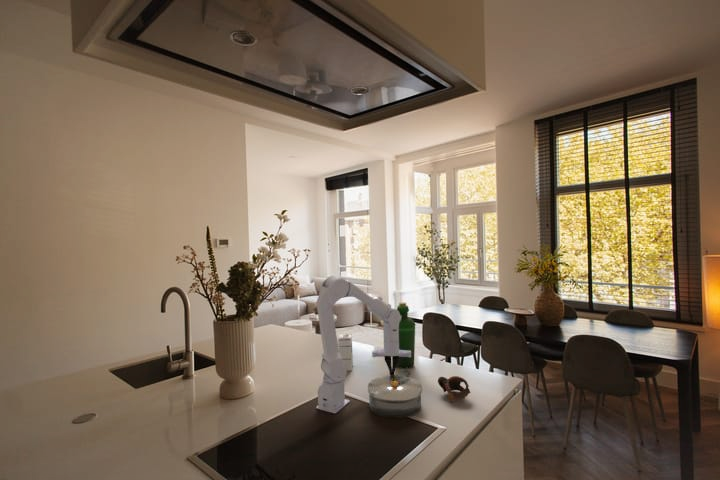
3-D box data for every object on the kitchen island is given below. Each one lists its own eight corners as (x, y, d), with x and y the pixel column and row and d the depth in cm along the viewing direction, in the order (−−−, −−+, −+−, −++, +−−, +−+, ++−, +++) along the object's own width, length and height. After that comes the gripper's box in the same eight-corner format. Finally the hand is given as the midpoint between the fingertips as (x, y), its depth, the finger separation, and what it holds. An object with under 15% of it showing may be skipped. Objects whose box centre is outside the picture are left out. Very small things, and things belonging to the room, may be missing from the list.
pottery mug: (472, 394, 125) (474, 380, 121) (462, 415, 118) (464, 401, 114) (441, 379, 131) (442, 365, 127) (430, 398, 125) (431, 384, 121)
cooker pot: (412, 422, 106) (412, 406, 106) (361, 412, 114) (360, 397, 114) (430, 390, 128) (430, 377, 128) (386, 383, 135) (385, 371, 135)
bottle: (399, 359, 161) (398, 300, 161) (420, 364, 155) (418, 302, 155) (388, 367, 153) (386, 304, 152) (409, 372, 146) (407, 306, 146)
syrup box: (352, 370, 150) (351, 337, 150) (339, 370, 150) (338, 337, 150) (353, 365, 155) (352, 333, 155) (340, 366, 155) (339, 334, 155)
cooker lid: (413, 406, 106) (412, 397, 106) (359, 396, 113) (358, 388, 113) (431, 376, 128) (431, 368, 128) (385, 369, 136) (385, 362, 136)
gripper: (410, 336, 133) (410, 371, 133) (372, 336, 134) (373, 371, 134) (411, 342, 126) (412, 379, 126) (371, 342, 127) (372, 378, 127)
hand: (392, 375), depth 129 cm, fingers closed
